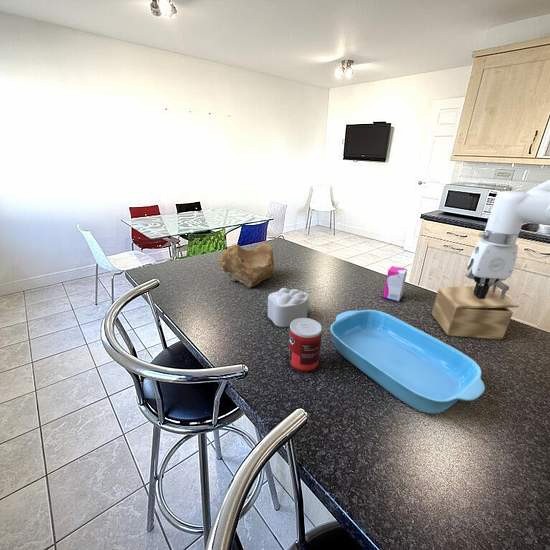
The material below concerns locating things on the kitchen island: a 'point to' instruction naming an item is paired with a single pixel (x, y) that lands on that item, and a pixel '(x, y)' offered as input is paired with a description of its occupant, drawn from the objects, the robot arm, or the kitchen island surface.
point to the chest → (471, 319)
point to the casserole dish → (407, 360)
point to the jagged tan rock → (248, 264)
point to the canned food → (304, 344)
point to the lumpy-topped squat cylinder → (287, 306)
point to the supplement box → (395, 283)
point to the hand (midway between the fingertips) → (478, 296)
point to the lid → (467, 299)
